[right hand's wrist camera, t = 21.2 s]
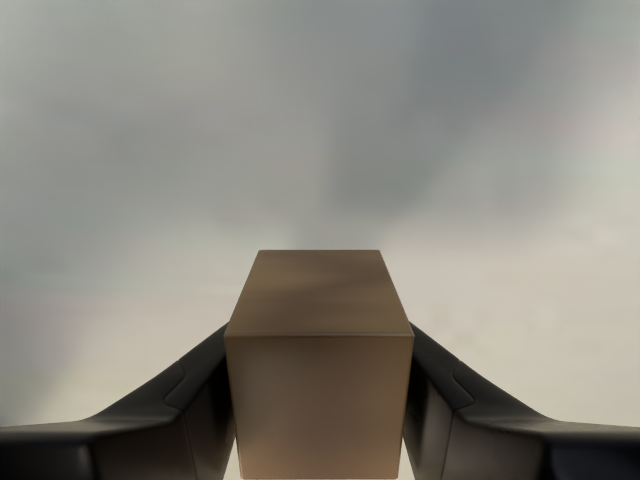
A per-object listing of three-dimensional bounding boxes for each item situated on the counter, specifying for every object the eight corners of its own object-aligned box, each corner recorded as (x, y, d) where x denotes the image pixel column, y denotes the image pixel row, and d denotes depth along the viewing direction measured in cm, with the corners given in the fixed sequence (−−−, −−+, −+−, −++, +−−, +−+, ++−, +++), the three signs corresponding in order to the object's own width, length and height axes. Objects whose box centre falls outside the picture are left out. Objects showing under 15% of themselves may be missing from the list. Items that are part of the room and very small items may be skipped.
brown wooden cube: (380, 248, 12) (416, 334, 7) (372, 357, 14) (398, 481, 9) (258, 249, 12) (221, 334, 7) (266, 358, 14) (240, 481, 9)
